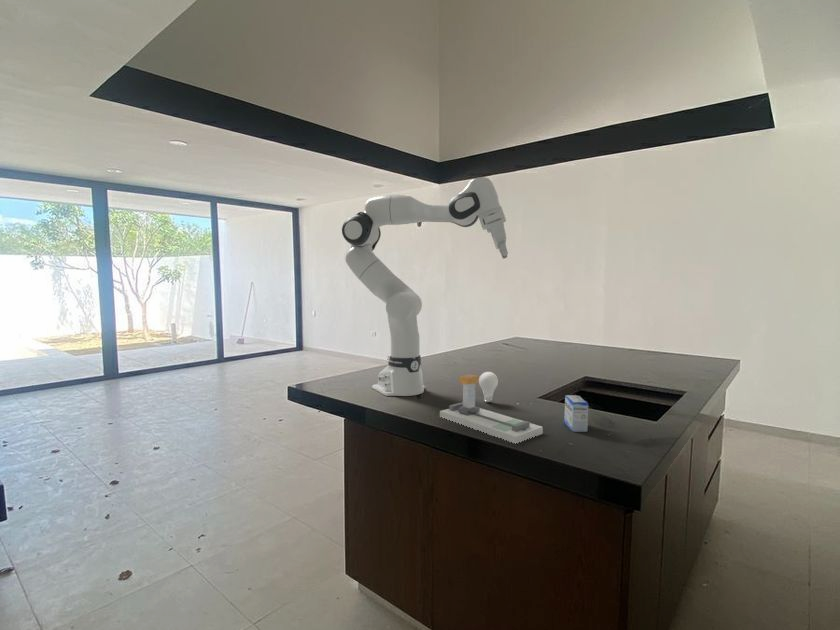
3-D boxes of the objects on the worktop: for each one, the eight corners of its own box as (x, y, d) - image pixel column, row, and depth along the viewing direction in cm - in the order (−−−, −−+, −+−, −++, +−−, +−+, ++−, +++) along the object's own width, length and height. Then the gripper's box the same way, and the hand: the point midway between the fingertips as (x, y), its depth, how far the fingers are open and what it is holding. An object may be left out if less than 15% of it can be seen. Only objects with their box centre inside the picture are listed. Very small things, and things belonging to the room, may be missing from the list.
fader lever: (458, 411, 137) (458, 376, 136) (470, 408, 141) (470, 373, 140) (467, 414, 134) (467, 378, 133) (479, 411, 138) (480, 375, 137)
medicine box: (563, 423, 133) (564, 394, 133) (578, 423, 133) (579, 394, 132) (572, 432, 125) (572, 402, 125) (587, 432, 125) (588, 402, 125)
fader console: (439, 417, 139) (439, 406, 139) (466, 409, 147) (466, 399, 147) (515, 444, 116) (515, 431, 116) (542, 433, 124) (542, 421, 124)
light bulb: (486, 399, 160) (486, 369, 159) (501, 402, 155) (501, 371, 154) (474, 402, 155) (475, 372, 155) (490, 406, 151) (490, 374, 150)
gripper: (485, 228, 169) (497, 262, 168) (483, 218, 149) (497, 256, 148) (501, 222, 168) (513, 256, 167) (501, 211, 148) (515, 250, 147)
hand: (505, 256), depth 158 cm, fingers open, 8 cm apart
